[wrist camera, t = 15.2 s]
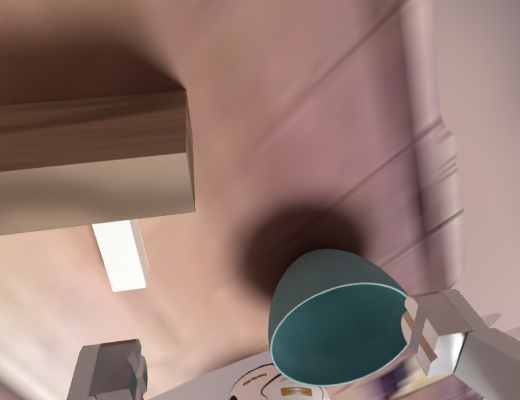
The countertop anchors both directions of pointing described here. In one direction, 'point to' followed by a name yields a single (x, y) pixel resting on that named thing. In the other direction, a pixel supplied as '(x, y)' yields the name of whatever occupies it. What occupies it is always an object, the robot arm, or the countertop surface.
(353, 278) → the teal bowl
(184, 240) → the countertop surface
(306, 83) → the countertop surface
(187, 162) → the brown wooden block
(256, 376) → the milk container
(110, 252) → the white t-shaped piece
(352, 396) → the countertop surface
